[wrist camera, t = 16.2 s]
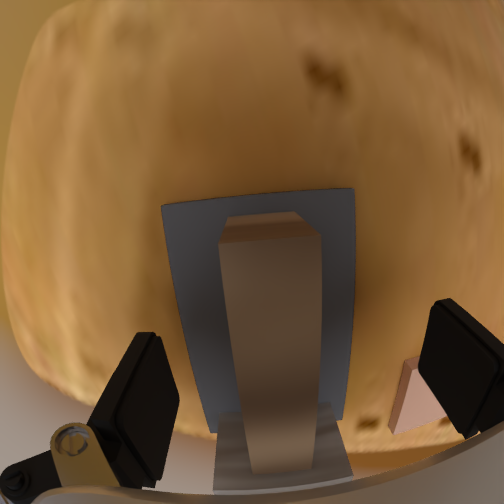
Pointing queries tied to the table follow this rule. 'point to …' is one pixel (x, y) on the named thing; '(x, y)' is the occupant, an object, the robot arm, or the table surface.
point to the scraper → (275, 361)
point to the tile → (413, 401)
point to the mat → (212, 292)
